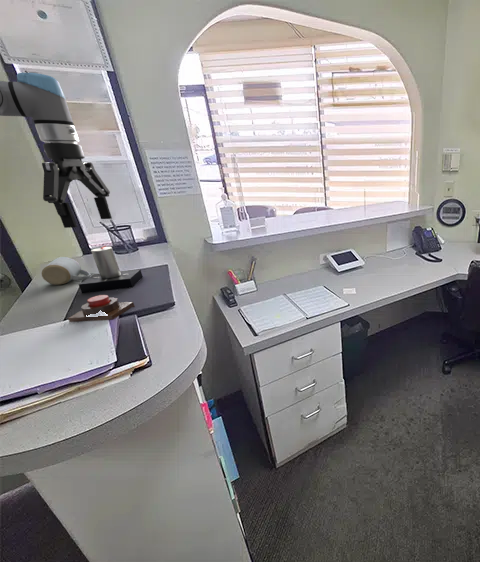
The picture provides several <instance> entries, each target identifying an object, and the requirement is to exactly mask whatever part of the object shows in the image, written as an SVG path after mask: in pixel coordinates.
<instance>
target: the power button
mask: <svg viewBox="0 0 480 562" xmlns="http://www.w3.org/2000/svg"><path fill="white" fill-rule="evenodd" d="M86 301H87V303H88V304H89V306H90V307H97V306H102V305H105V304H108V303H109V302H110V300H109V295H108V294H99V295H95V296H92V297H89V298H88V299H87V300H86Z"/></svg>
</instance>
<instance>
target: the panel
mask: <svg viewBox="0 0 480 562" xmlns="http://www.w3.org/2000/svg"><path fill="white" fill-rule="evenodd" d="M120 273H121V275H120V276H117V277H114V278H109V279H102V278H101V276H100V273H93V274H91V275H90V277H89V278H88V279H86V280H82V281H81V282H80V283H79V284H78V287H79V290H80V292H81V294H89V293H97V292H105V291H114V290H123V289H130V288H129V287H132V288H133V287H135V286H136V285H137V284H138V283H139V282H140V281H141V280H142V279H143V278H144V276H143V273H142V269H141V268H138V269H127V270H120ZM142 277H143V278H142ZM141 278H142V279H141ZM140 279H141V280H140ZM139 280H140V281H139Z"/></svg>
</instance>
